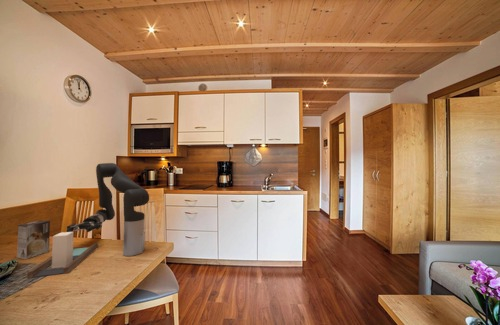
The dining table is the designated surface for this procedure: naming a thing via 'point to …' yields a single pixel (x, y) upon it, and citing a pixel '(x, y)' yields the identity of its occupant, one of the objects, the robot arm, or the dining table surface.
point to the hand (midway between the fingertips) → (78, 230)
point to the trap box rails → (66, 268)
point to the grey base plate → (51, 271)
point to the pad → (78, 251)
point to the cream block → (62, 249)
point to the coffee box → (33, 239)
